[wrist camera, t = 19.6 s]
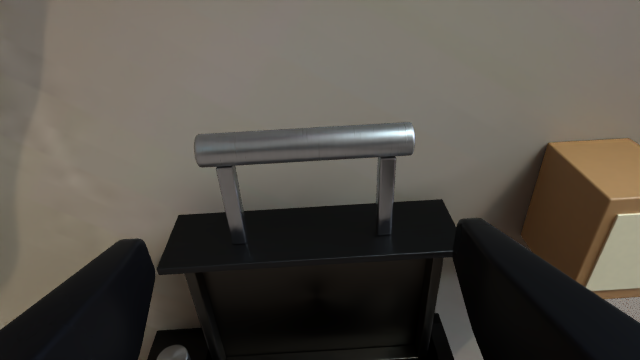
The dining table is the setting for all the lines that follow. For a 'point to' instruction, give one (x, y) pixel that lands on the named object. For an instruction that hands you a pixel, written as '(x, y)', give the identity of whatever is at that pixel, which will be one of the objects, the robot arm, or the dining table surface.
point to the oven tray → (313, 255)
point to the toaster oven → (193, 356)
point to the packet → (589, 214)
